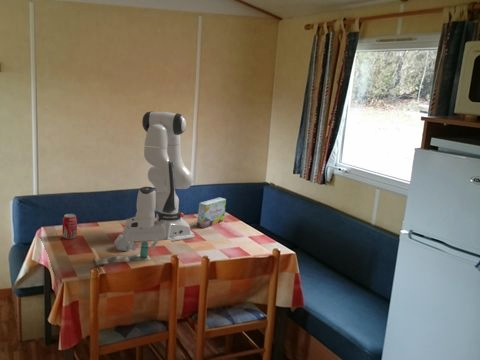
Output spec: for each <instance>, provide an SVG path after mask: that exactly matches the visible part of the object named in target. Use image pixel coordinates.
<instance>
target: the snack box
mask: <svg viewBox="0 0 480 360" xmlns="http://www.w3.org/2000/svg"><path fill="white" fill-rule="evenodd" d="M226 204H227V199H226V198H223V197H220V196H219V197H215V198H212V199H209V200H205V201H200V202H199V203H198V212H197V222H196V227H198V228H201V229H206V228H208V227H212V226H215V225H218V224H220V222H221V223H224V222H223V221H224V220H225V212H226ZM217 223H218V224H217ZM214 224H215V225H214Z"/></svg>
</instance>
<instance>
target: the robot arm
mask: <svg viewBox="0 0 480 360" xmlns="http://www.w3.org/2000/svg"><path fill="white" fill-rule="evenodd" d="M141 124H142V128H143V129H144V131H145V132H146V134H145V135H146V136H145V140H144V147H143V157H144V159H145V161H146V162H147V163H148V164H149V165H151V167H149V169H148V171H147V179H148V181H149V182H150V183H151V184H152V186H153V187H151V186H142V187H140V188H139V190H138V193H137V196H136V213H135V216H133V217H131V218H130V217H129V218H127V219H126V220H125V225H124V227H123V230H122V234H121V235H122V239H123V240H124V241H125V242H130V244H131V245H132V247H131V251H136V248H137V246H136V245H135V242H148V241H153V243H151V244H150V248H151V249H155V248H156V245H157V244H158V243H159V241H161V240H162V241H163V240H164V241H166V240H170V241H171V242H176V241H181V240H189V239H194V238H195V233H194V232H193V231H192V230H191V226H190V224H189V223H188V222H187V221H186V220H185V219H184V217H185V214H184V213H183V212H181V211H180V210H179V206H180V205H179V203H180V199H179V197H178V195H177V190H176V189H178V190H185V189H189V188H190V187H191V186H192V185H193V182H194V175H193V173H192V172H191V171H190V170H189V169H188V168H187V167H186V165H185V164H184V161H183V158H182V153H181V152H182V147H181V134H183V133H185V130H186V126H187V120H186V117H185V116H184V114H181V113H179V112H178V113H175V112H170V111H147V112H145V113H144V115H143V117H142V122H141ZM155 212H156V214H155ZM132 243H133V244H132Z"/></svg>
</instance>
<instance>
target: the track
mask: <svg viewBox="0 0 480 360" xmlns="http://www.w3.org/2000/svg"><path fill="white" fill-rule="evenodd" d="M146 260H151V258H150V256H149V255H148V257H147V258H141V257H140V254H131V255H120V256H110V257H100V258H93V261H92V262H93V264H94V266H95V268H101V267H105V266H104V265H105V264H113V263H114V264H115V263H123V262H125V263H126V262H132V261H135V262H137V261H146Z"/></svg>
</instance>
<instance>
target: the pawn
mask: <svg viewBox="0 0 480 360" xmlns="http://www.w3.org/2000/svg"><path fill="white" fill-rule="evenodd" d="M148 254H149V243H148V241H141V246H140V252H139V255H140V257H141V258H147V257H148V256H149V255H148Z"/></svg>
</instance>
